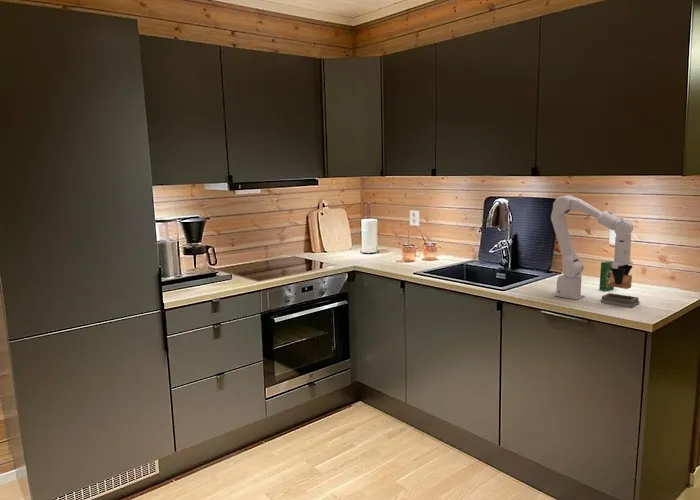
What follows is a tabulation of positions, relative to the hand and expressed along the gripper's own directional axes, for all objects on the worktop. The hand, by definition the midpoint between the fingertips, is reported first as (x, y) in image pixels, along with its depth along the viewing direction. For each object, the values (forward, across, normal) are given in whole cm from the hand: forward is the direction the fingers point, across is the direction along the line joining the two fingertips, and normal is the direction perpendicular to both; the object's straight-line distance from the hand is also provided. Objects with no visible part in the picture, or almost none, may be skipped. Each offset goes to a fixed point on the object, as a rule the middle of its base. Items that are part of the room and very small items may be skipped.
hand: (620, 283), depth 217 cm
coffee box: (+9, +20, +13) cm, 26 cm away
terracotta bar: (+1, 0, 0) cm, 1 cm away
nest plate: (+8, 0, 0) cm, 8 cm away
